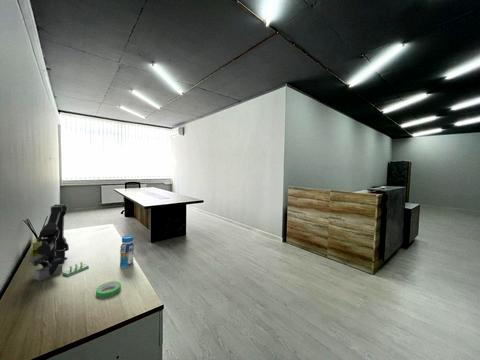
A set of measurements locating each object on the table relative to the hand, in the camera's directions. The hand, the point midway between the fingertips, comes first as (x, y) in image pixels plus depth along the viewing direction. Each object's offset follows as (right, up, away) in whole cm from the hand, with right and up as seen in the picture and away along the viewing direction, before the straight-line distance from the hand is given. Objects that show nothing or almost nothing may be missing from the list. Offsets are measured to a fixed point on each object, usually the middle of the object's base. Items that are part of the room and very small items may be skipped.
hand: (48, 273), depth 117 cm
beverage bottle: (+37, -3, +17) cm, 41 cm away
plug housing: (0, -1, 0) cm, 1 cm away
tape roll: (+44, -4, -12) cm, 46 cm away
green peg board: (+11, -1, +7) cm, 13 cm away
